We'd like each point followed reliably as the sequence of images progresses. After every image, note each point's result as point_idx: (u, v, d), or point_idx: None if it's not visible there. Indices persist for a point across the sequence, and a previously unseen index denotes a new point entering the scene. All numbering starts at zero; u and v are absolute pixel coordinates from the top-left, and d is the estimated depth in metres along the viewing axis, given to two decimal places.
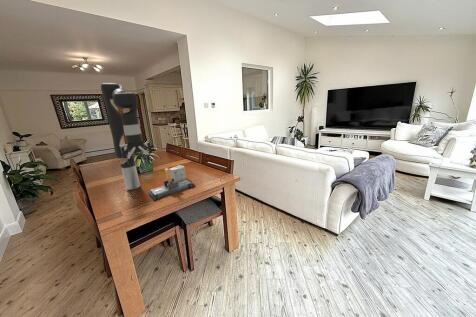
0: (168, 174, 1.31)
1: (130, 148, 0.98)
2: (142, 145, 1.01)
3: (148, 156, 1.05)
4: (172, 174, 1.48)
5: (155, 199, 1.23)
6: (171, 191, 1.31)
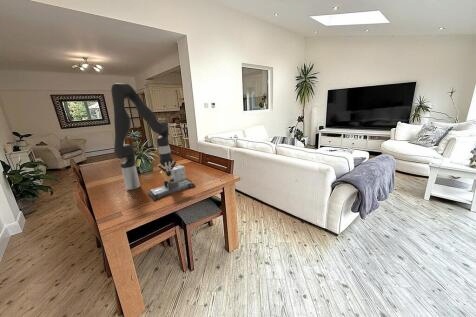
0: (165, 176, 1.30)
1: (163, 164, 1.28)
2: (171, 162, 1.31)
3: (170, 172, 1.33)
4: (172, 174, 1.48)
5: (155, 199, 1.23)
6: (171, 191, 1.31)
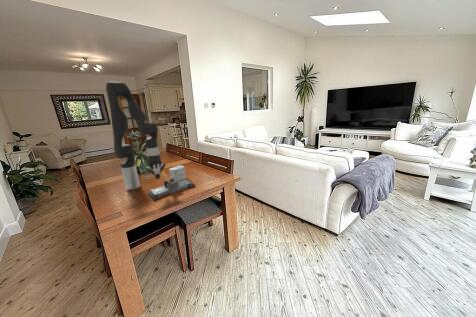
0: (165, 176, 1.30)
1: (152, 167, 1.24)
2: (160, 165, 1.27)
3: (159, 174, 1.28)
4: (172, 174, 1.48)
5: (155, 199, 1.23)
6: (171, 191, 1.31)
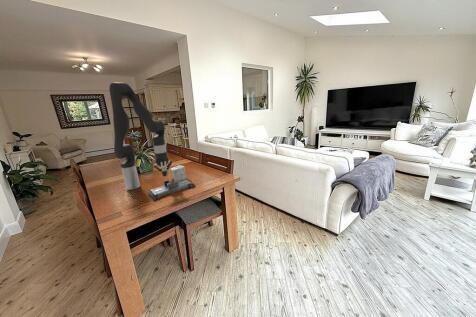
0: (170, 173, 1.32)
1: (159, 164, 1.26)
2: (167, 162, 1.29)
3: (166, 172, 1.31)
4: (172, 174, 1.48)
5: (155, 199, 1.23)
6: (171, 191, 1.31)
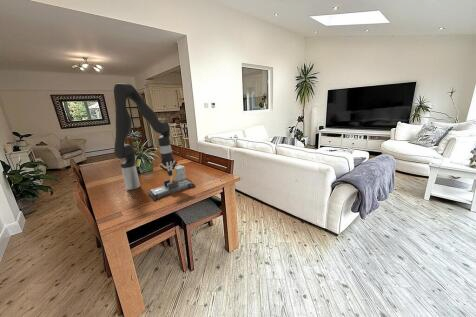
0: (174, 173, 1.34)
1: (165, 164, 1.29)
2: (172, 162, 1.32)
3: (171, 171, 1.33)
4: None
5: (155, 199, 1.23)
6: (171, 191, 1.31)
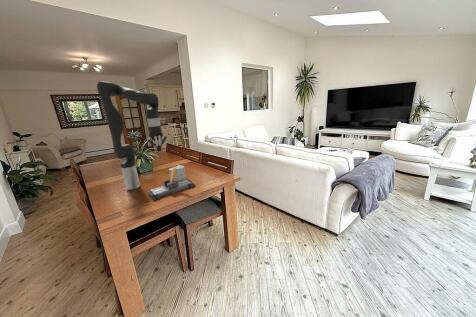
0: (174, 173, 1.34)
1: (153, 138, 1.24)
2: (161, 137, 1.27)
3: (160, 147, 1.28)
4: None
5: (155, 199, 1.23)
6: (171, 191, 1.31)
